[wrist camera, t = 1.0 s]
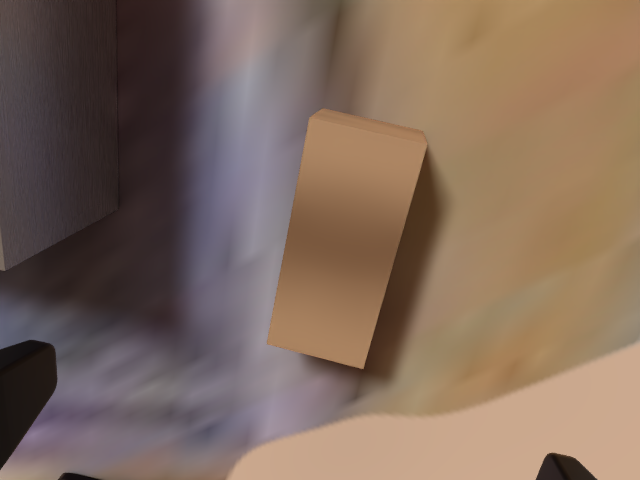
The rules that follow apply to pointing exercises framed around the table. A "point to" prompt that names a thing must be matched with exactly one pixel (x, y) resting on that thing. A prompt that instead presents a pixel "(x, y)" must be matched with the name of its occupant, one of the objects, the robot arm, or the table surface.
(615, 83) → the table surface
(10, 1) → the grey slotted block
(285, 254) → the tan rectangular block
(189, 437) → the table surface
